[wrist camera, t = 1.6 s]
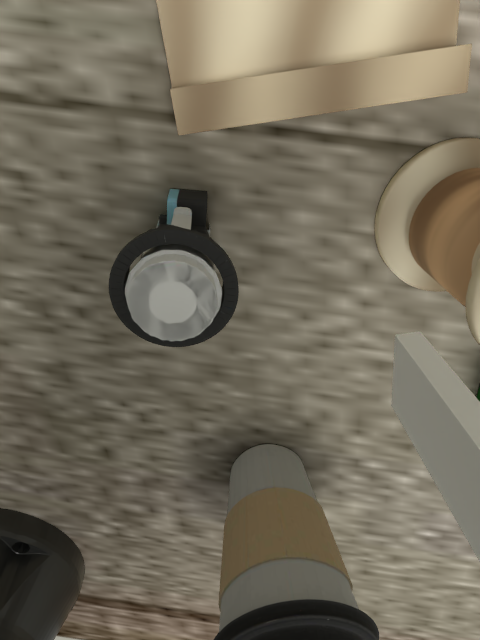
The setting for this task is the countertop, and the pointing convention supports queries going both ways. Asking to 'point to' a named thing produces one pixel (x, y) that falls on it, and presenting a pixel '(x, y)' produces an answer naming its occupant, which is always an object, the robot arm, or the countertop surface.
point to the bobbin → (436, 223)
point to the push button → (175, 277)
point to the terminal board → (306, 57)
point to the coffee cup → (282, 558)
